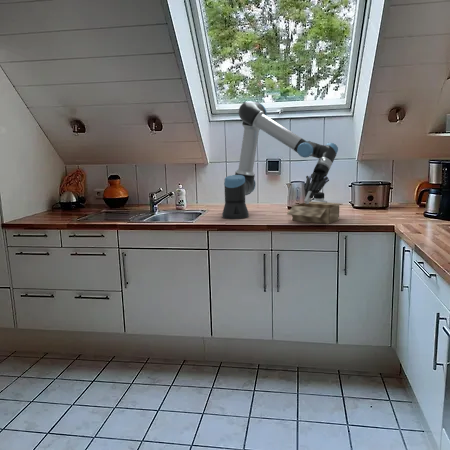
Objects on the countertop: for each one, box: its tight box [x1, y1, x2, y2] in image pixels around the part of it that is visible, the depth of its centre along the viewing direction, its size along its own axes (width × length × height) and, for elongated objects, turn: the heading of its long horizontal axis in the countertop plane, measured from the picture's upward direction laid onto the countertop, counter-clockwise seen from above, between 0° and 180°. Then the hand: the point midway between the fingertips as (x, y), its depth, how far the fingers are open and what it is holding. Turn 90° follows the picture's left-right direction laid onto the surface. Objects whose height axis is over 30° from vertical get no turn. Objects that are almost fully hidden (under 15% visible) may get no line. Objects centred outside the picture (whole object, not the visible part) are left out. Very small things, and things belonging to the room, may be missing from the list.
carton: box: [291, 200, 344, 225], centre depth 241 cm, size 22×19×8 cm
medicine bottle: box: [310, 191, 328, 203], centre depth 262 cm, size 7×7×12 cm
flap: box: [286, 206, 326, 218], centre depth 231 cm, size 19×1×7 cm
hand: (306, 202), depth 230 cm, fingers closed
